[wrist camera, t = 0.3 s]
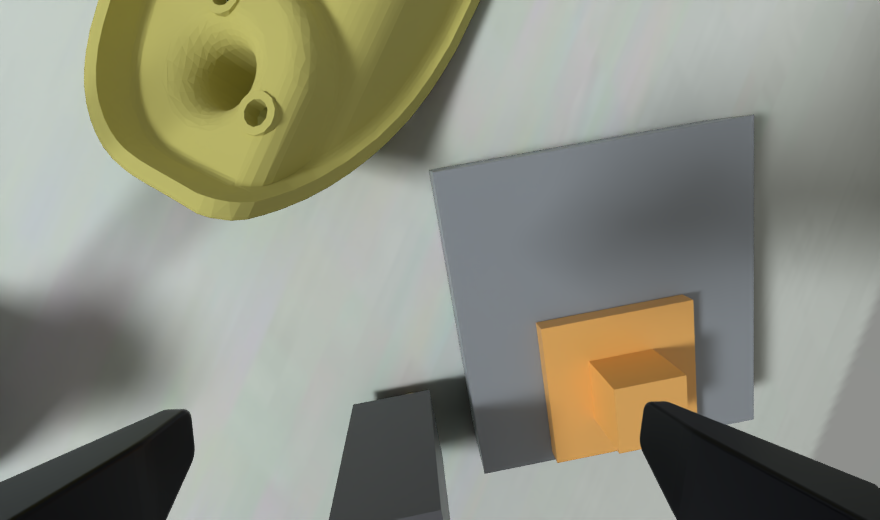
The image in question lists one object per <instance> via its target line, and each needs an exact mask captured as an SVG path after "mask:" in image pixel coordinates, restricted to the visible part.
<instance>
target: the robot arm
mask: <svg viewBox="0 0 880 520" xmlns="http://www.w3.org/2000/svg"><path fill="white" fill-rule="evenodd" d="M640 446H641V449H642V451H643V454H644V456H645V458H646V460H647V462H648V464H649V466H650V468H651V470H652V472H653V474H654V476H655V478H656V480H657V482H658V484H659V486H660V488H661V490H662V492H663V494H664V496H665V498H666V500H667V502H668V504H669V506H670V508H671V510H672V511H673V513H674V515H675V517H676V519H677V520H880V488H878V487H877V486H876V485H875V484H873V483H870V482H868V481H865V480H862V479H860V478H858V477H855V476H853V475H850V474H848V473H845V472H843V471H840V470H838V469H835V468H833V467H830V466H828V465H825V464H823V463H820V462H818V461H815V460H813V459H810V458H808V457H805V456H803V455H800V454H798V453H795V452H793V451H790V450H788V449H785V448H783V447H780V446H778V445H775V444H773V443H770V442H768V441H765V440H763V439H760V438H758V437H755V436H753V435H750V434H748V433H745V432H743V431H740V430H738V429H735V428H733V427H730V426H728V425H725V424H723V423H720V422H718V421H715V420H713V419H710V418H708V417H705V416H703V415H700V414H698V413H695V412H693V411H690V410H688V409H685V408H683V407H680V406H678V405H675V404H673V403H670V402H667V401H651V402H648V403H646V404H645V406H644V410H643V416H642V424H641V431H640ZM194 451H195V447H194V437H193V428H192V418H191V415H190V412H189V411H187V410H185V409H168V410H163V411H161V412H158V413H156V414H154V415H152V416H149V417H147V418H145V419H143V420H140V421H138V422H136V423H134V424H131V425H129V426H127V427H124V428H122V429H120V430H118V431H115V432H113V433H111V434H109V435H106V436H104V437H102V438H100V439H97V440H95V441H93V442H91V443H88V444H86V445H84V446H81V447H79V448H77V449H75V450H72V451H70V452H68V453H66V454H63V455H61V456H59V457H57V458H54V459H52V460H50V461H48V462H45V463H43V464H41V465H38V466H36V467H34V468H32V469H29V470H27V471H25V472H23V473H20V474H18V475H16V476H14V477H11V478H9V479H7V480H4V481H2V482H0V520H166V519H167V517H168V514H169V512H170V510H171V508H172V505H173V503H174V501H175V499H176V497H177V494H178V492H179V490H180V488H181V486H182V483H183V481H184V479H185V477H186V474H187V472H188V470H189V468H190V466H191V463H192V461H193V457H194Z"/></svg>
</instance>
